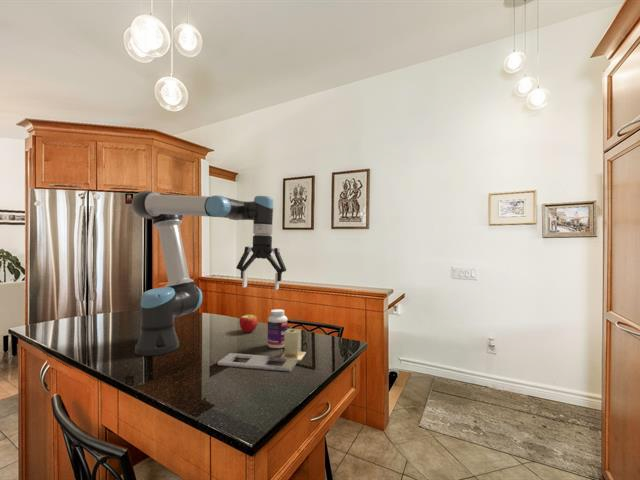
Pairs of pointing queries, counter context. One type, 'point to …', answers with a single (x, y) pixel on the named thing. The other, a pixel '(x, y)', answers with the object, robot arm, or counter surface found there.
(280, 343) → the pill bottle
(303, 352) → the coaster
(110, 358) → the counter surface
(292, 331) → the tan block with knob
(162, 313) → the robot arm
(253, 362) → the rail
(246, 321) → the apple
